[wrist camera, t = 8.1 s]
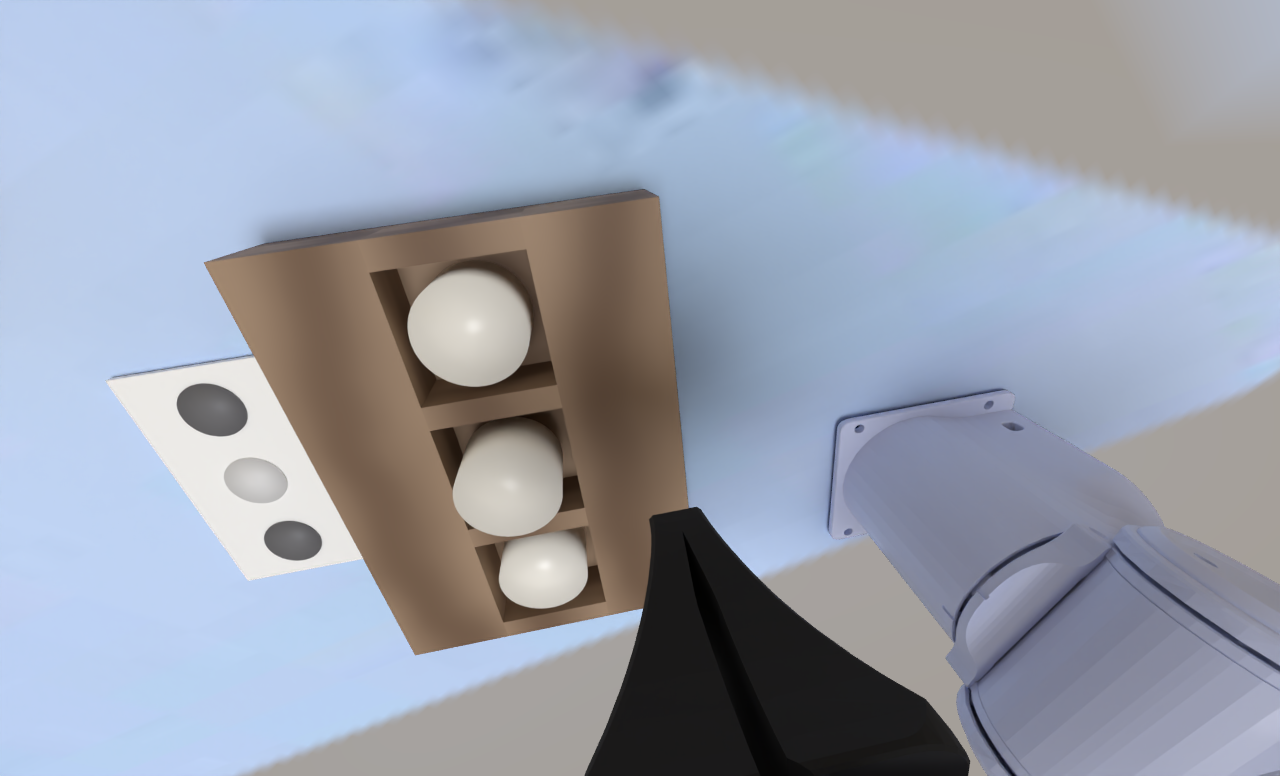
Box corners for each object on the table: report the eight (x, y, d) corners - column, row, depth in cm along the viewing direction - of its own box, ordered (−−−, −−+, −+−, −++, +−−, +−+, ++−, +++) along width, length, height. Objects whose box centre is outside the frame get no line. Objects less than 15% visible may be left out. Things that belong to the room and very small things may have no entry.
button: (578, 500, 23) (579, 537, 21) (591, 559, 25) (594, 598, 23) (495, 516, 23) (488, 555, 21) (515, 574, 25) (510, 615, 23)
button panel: (644, 188, 18) (658, 196, 15) (683, 549, 27) (697, 597, 24) (263, 244, 17) (203, 262, 14) (431, 600, 26) (415, 655, 23)
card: (272, 351, 19) (266, 355, 19) (375, 552, 24) (373, 558, 24) (112, 377, 19) (102, 382, 18) (251, 575, 24) (246, 582, 23)
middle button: (552, 408, 19) (550, 442, 17) (570, 486, 21) (571, 525, 19) (452, 426, 19) (438, 462, 17) (480, 503, 21) (469, 545, 19)
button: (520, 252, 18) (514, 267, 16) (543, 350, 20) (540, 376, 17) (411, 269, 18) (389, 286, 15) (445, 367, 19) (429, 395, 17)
